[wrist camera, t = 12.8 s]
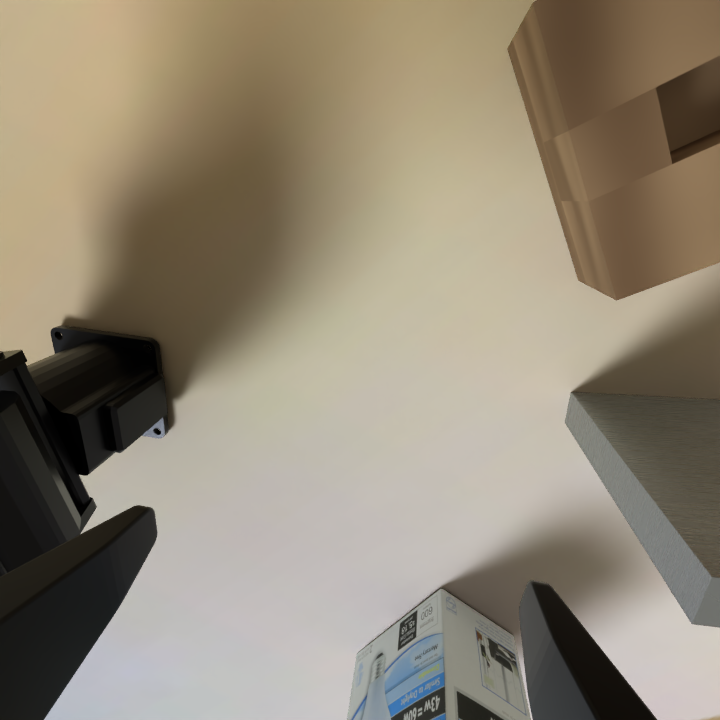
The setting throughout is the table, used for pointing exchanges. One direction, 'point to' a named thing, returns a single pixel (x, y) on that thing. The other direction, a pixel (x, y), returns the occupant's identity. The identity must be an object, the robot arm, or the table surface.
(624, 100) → the walnut slot box
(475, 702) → the light bulb box
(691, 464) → the gray rectangular metal block
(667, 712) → the table surface
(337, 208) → the table surface
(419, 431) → the table surface
